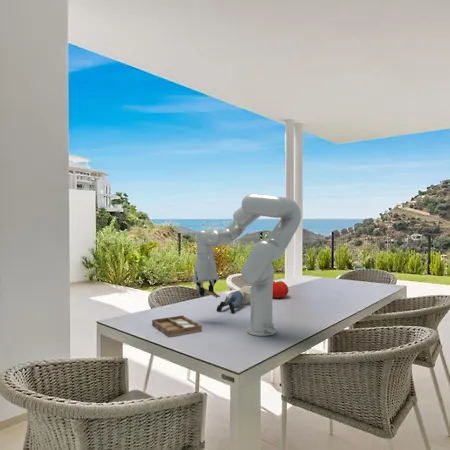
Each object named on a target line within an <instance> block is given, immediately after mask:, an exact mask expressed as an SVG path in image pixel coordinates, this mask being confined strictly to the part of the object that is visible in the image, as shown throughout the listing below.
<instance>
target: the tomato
mask: <svg viewBox="0 0 450 450" xmlns="http://www.w3.org/2000/svg"><path fill="white" fill-rule="evenodd" d="M288 294H289V287H288V285H287V283H285V282H284V281H283V280H279V281H274V280H273V296H272V299H282V298H285V297H286V296H287V295H288Z"/></svg>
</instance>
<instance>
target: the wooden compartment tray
mask: <svg viewBox="0 0 450 450" xmlns="http://www.w3.org/2000/svg"><path fill="white" fill-rule="evenodd" d="M151 325H152V327H154V328H155V329H156V330H158V331H159V332H161V333H163V335H165V336H166V337H168V338H172V337H179V336H183V335H189V334H194V333H201V332H202V331H203V325H201V324H199V323H198V322H196V321H193V320H192V319H190V318H188V317H186V316H184V315H179V316H177V315H176V316H169V317H163V318H162V317H161V318H156V319H152V320H151Z"/></svg>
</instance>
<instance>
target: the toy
mask: <svg viewBox="0 0 450 450" xmlns="http://www.w3.org/2000/svg"><path fill="white" fill-rule="evenodd" d="M250 296H251V286H250V285H243V286H242V287H241V288H240V289H237V290H234V291H231V292H230V293H229V294H228V296H226V297H225V299H224V300H223V301H220V303H219V305H217V306H216V310H215V311H216V312H218V313H221V312H222V311H223V308H225V307H227V306H228V308H229V309H230V313H231V314H232V315H234V314H236V309H235V308H238V307H239V306H240V305H243V306H244V305H245V306H246V305H247V304H248V303H250Z"/></svg>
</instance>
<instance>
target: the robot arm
mask: <svg viewBox="0 0 450 450" xmlns="http://www.w3.org/2000/svg"><path fill="white" fill-rule="evenodd" d="M260 217H268V218H275V219H279V218H280V219H279V221H278V222H277V223H276V225H275V226H274V227H273V229H272V231H271V232H270V234H269V236H268V237H267V238H265V239H260V240H259V241H258V242H256V243H255V244H254V246H253V247H252V249H251V251H250V252H249V254H248V256H247V258H246V260H245V261H244V263H243V264H242V268H241V270H240V271H241V273H240V274H241V278H242V280H243V282H244V283H246V284H249V285H250V287H251V296H250V301H249V303H250V326H249V327H247V328H246V332H247V334H249V335H252V336H258V337H266V336H267V337H268V336H273V335H275V334H276V333H277V329H278V328H276V327H274V326H275V325H274V324H275V323H274V322H273V297H272V296H273V281H274V277H275V268H274V265H273V263H272V262H275V261H277V260H280V259H281V258H282V256H283V255H284V253H285V251H286V249H287V248H288V245H289V244H290V243H291V240H292V239H293V237H294V235H295V233H296V232H297V230H298V228H299V226H300V224H301V219H302V213H301V210H300V207H299V205H298V203H297V202H296V201H295V200H293V199H291V198H290V197H286V196H285V197H282V196H276V195H275V196H274V195H273V196H272V195H263V194H259V193H249V194H247V195H246V196H244V197H243V198H242V201H241V207H239V208H238V209H237V210H235V212H234V211H233V215H232V218H233V221H232V222H231V223H230V224H229V225H227V226H226V227H225V228H221V229H220V228H218V229H211V230H208V229H207V230H198V231H196V251H197V252H196V253H197V254H196V255H197V256H196V257H197V259H195V263H194V268H193V269H194V273H193V275H194V277H193V279H192V280H191V281H192V283H194V284H195V285H197V286H198V287H199V291H198V294H199V295H200V297H204V296H205V293H204V288H205V287H204V281H206V282H207V281H208V283H209V285H208V290H210V291H214V290H215V289H214V286H215V285H216V283H217V282H218V281H219V280H220V277H219V275H218V273H217V271H218V270H217V266H216V265H217V264H216V260H215V258H214V257H216V253H214V247H220V246H226V245H230V244H231V243H232V242H234V241H235V240H236V239H238V238H239V237H240V236H242V234H243V233H244V231H245V230H246V228H247V227H249V225H251V224H253V223H254V222H255V221H256V220H258V219H259V218H260ZM214 292H215V291H214Z"/></svg>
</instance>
